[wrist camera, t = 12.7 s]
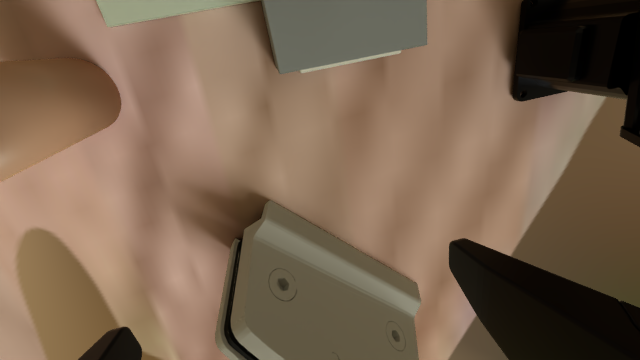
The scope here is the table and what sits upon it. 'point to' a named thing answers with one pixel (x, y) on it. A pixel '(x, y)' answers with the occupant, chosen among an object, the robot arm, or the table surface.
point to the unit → (341, 31)
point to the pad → (155, 9)
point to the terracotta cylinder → (50, 108)
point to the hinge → (311, 297)
